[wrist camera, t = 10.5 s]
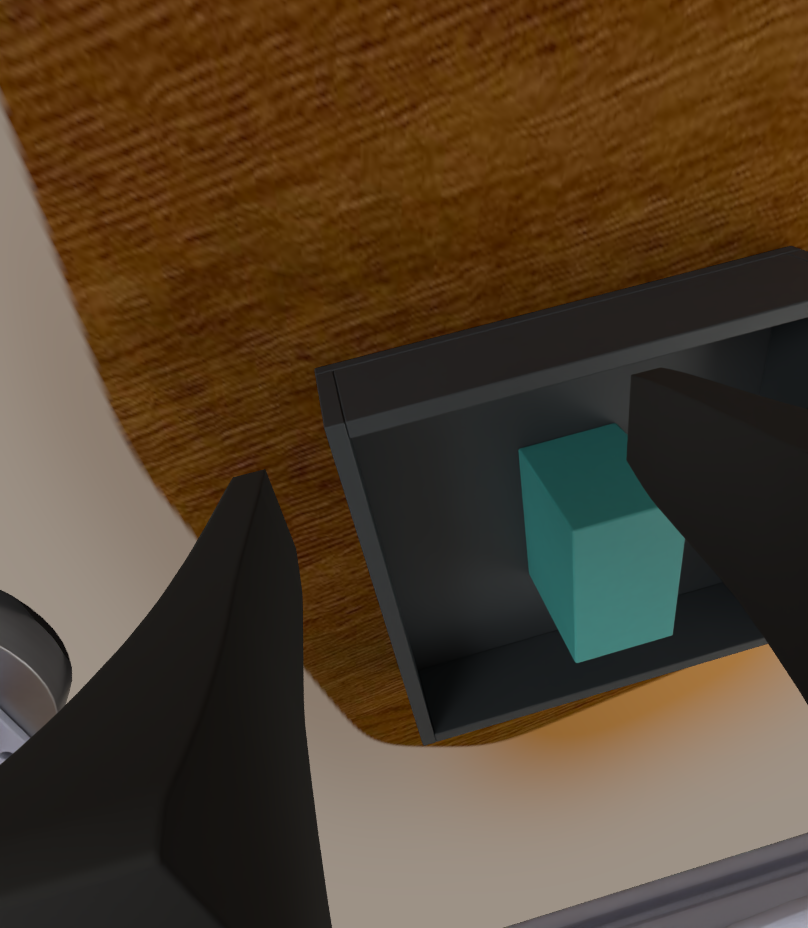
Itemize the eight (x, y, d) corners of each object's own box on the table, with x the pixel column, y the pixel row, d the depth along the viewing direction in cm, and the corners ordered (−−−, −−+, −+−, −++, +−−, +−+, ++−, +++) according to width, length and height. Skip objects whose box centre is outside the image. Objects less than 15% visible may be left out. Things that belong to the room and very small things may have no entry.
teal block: (528, 573, 27) (575, 664, 23) (517, 448, 23) (572, 532, 19) (612, 549, 27) (673, 636, 23) (615, 421, 23) (691, 498, 19)
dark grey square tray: (405, 671, 30) (423, 746, 27) (313, 368, 20) (324, 427, 17) (726, 579, 31) (780, 640, 28) (791, 244, 21) (889, 279, 18)
